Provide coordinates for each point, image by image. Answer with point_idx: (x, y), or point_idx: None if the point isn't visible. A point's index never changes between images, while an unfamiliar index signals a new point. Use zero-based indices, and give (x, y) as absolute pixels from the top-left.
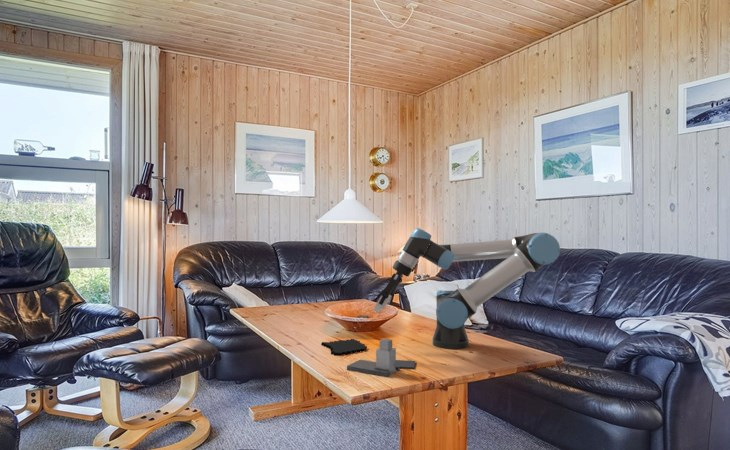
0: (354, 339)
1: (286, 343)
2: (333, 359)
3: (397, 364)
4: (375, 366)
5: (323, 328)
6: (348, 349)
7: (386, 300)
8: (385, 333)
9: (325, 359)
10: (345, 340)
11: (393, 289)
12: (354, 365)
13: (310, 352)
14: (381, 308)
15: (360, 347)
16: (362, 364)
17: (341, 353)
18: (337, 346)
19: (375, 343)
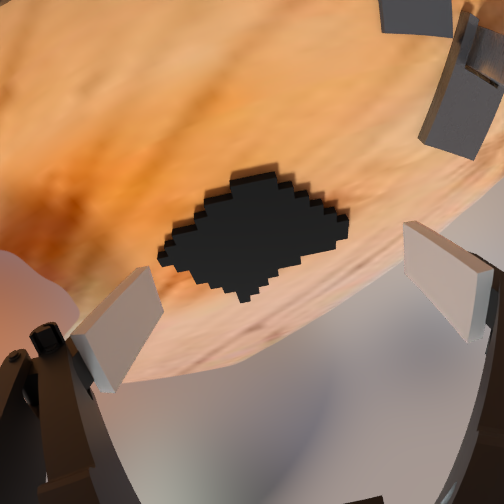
0: (158, 257)
1: (263, 340)
2: (385, 216)
3: (434, 17)
4: (481, 86)
5: None
6: (302, 219)
7: (480, 260)
8: (7, 224)
9: (386, 231)
10: (190, 270)
11: (82, 408)
12: (473, 143)
13: (327, 283)
14: (435, 234)
15: (261, 197)
16: (467, 125)
17: (345, 219)
18: (275, 258)
19: (137, 187)
